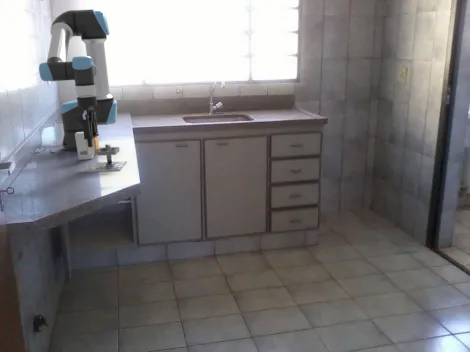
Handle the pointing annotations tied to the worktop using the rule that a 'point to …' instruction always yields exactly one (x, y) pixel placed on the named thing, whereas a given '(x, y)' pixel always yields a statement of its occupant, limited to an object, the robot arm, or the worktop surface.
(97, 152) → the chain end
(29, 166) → the worktop surface
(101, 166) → the post
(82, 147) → the skincare box
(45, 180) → the worktop surface
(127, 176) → the worktop surface
